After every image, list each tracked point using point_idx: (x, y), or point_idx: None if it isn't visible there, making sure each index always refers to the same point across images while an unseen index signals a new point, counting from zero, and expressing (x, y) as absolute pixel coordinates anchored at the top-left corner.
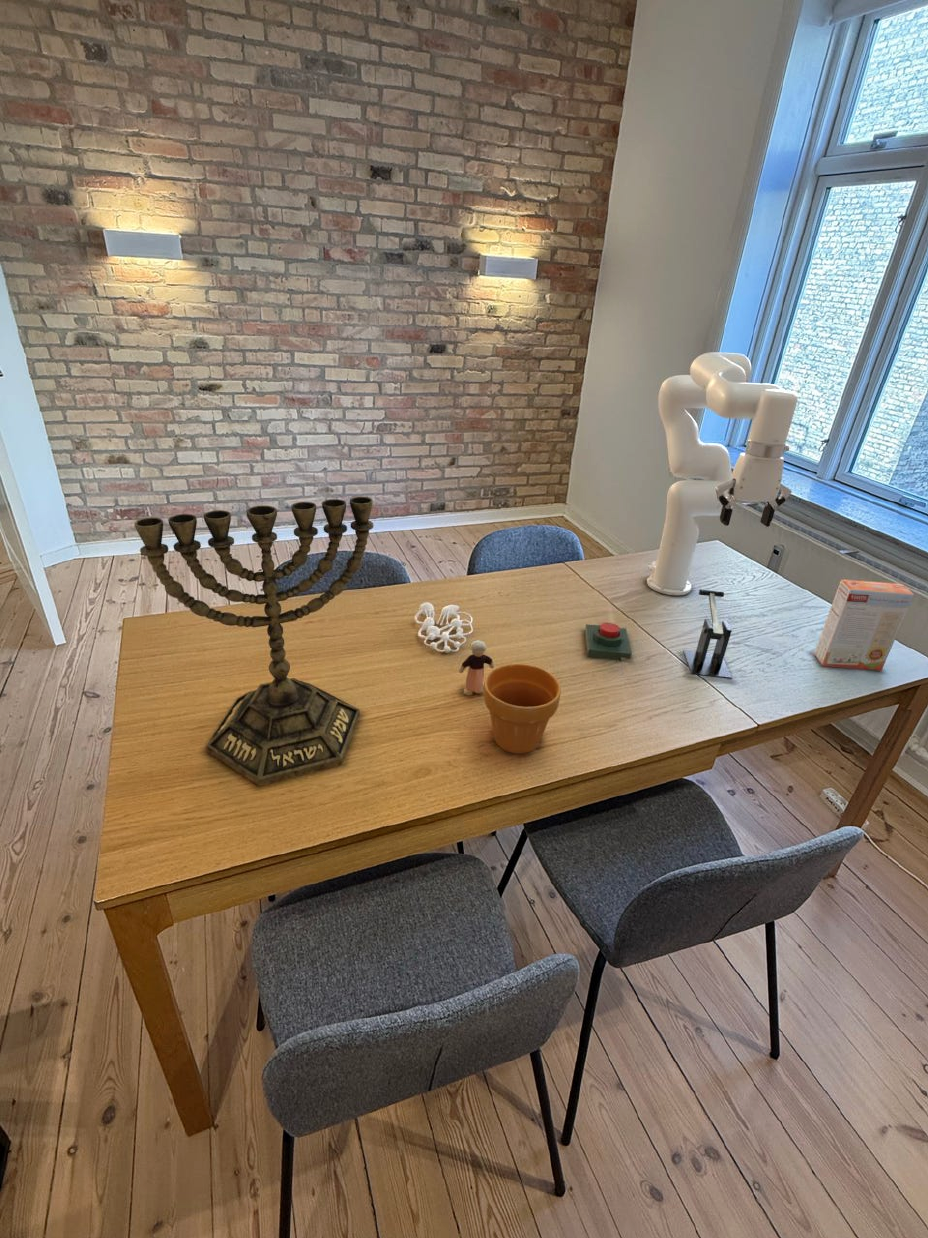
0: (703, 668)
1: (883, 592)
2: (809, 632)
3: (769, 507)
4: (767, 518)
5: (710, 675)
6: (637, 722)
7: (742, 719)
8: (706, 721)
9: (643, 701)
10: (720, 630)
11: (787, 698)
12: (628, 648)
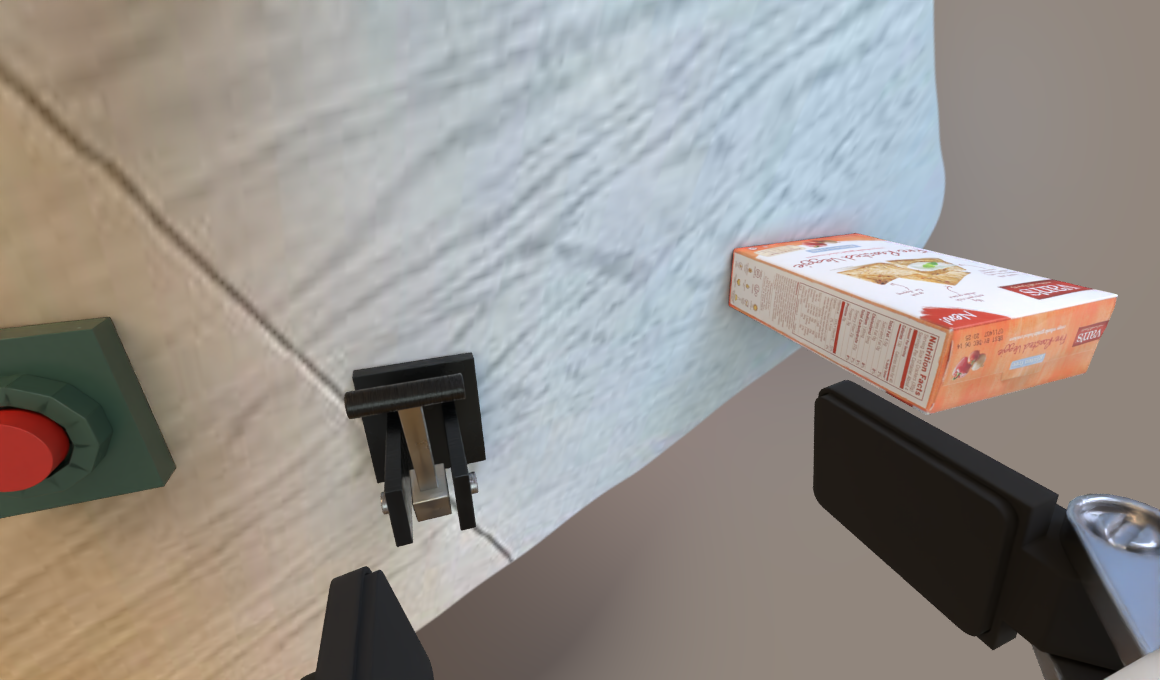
0: None
1: (1011, 392)
2: (777, 108)
3: (1023, 612)
4: (877, 542)
5: None
6: (252, 670)
7: (488, 565)
8: (410, 602)
9: (255, 606)
10: (441, 510)
11: (600, 462)
12: (144, 462)
